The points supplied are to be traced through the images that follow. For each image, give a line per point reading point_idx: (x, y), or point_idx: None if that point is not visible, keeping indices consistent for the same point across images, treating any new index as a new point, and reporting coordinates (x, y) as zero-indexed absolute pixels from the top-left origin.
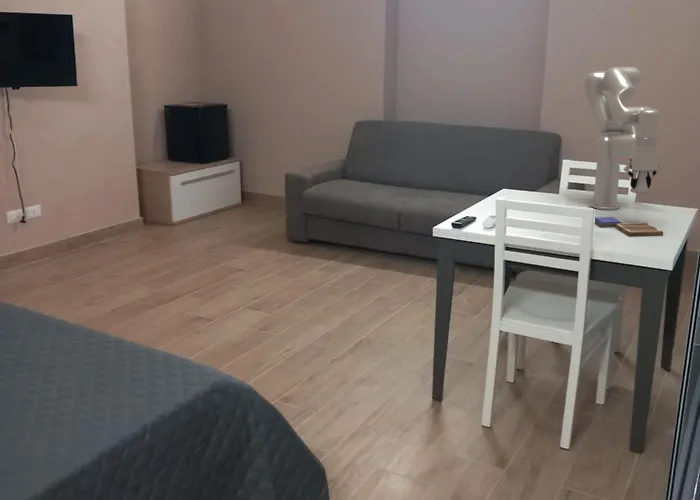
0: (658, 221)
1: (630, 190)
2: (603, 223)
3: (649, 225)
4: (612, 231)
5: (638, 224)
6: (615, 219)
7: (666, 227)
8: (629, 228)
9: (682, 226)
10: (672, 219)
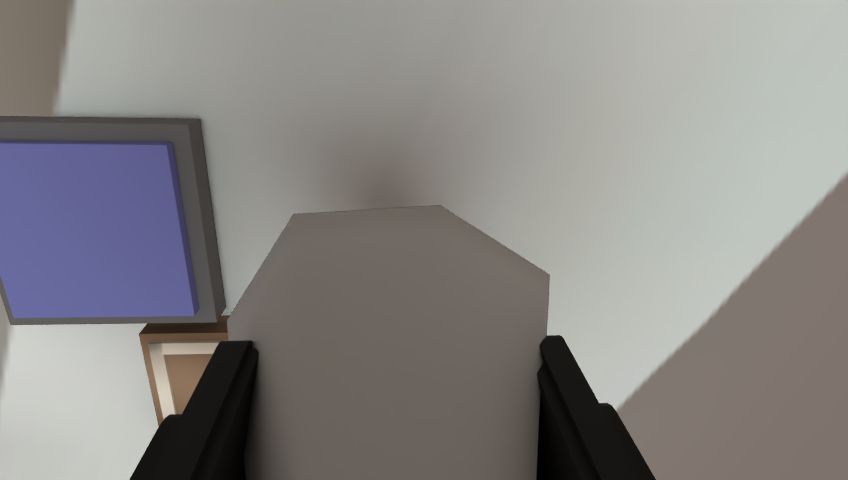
0: (603, 163)
1: (229, 330)
2: (36, 312)
3: None
4: (108, 405)
5: None
6: (163, 241)
7: None
8: None
9: (682, 320)
10: (765, 108)
